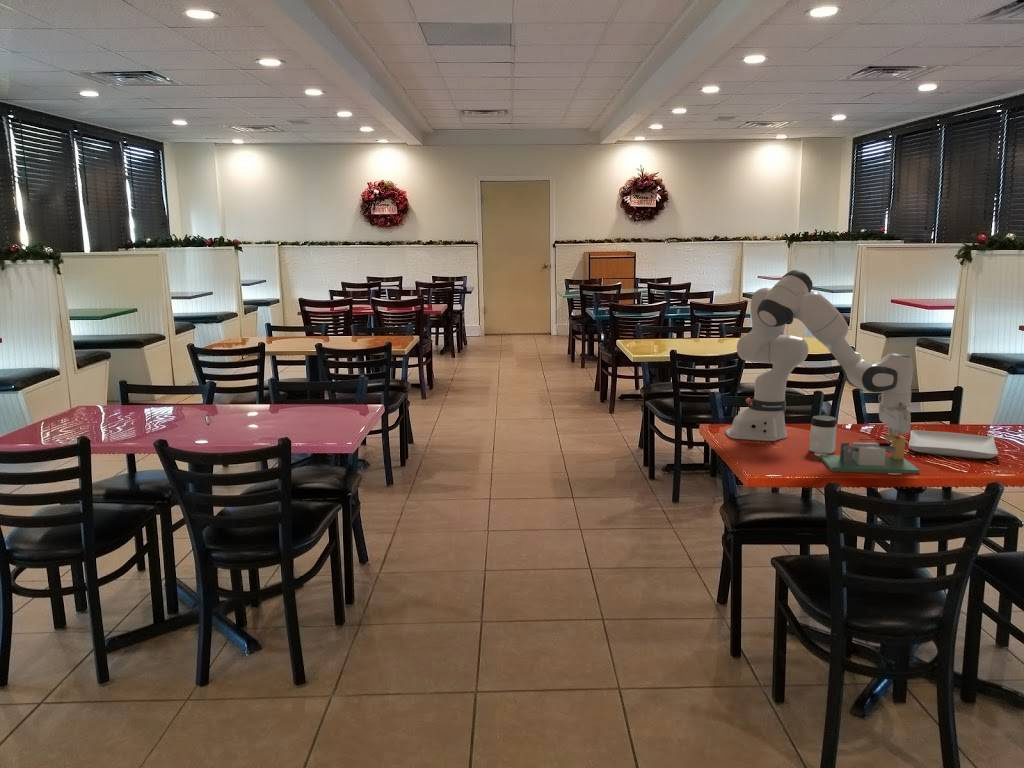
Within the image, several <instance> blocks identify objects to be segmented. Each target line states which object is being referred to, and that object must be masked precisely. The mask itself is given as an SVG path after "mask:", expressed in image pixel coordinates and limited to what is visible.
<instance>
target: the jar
mask: <svg viewBox="0 0 1024 768" xmlns="http://www.w3.org/2000/svg"><path fill="white" fill-rule="evenodd" d="M837 423H838V420H837V418H836V417H834V416H831V415H829V416H828V415H813V416H812V418H811V425H810V432H809V435H810V436H809V451H810V452H813V453H815V454H822V453H825V454H824V455H833V454H834V452H835V451H836V445H837V428H838V425H837Z"/></svg>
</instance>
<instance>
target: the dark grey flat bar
mask: <svg viewBox="0 0 1024 768" xmlns="http://www.w3.org/2000/svg"><path fill="white" fill-rule="evenodd" d="M852 446H853V445H852ZM859 447H863V448H885V449H886V453H887V452H888V453H889V452H890V453H891V452H896V449H895V448H894V447H891V446H887V445H886V446H884V445H883V446H881V445H879V446H853V451H858V450H859ZM842 449H843V450H844V449H845V446H842Z"/></svg>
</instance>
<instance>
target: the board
mask: <svg viewBox="0 0 1024 768" xmlns="http://www.w3.org/2000/svg"><path fill="white" fill-rule="evenodd" d="M842 446H845V449H844V450H843V449H842ZM853 446H880V443H879V442H856V441H855V442H854V441H853V442H852V445H850V443H849V442H842V441H841V442H840V449H839V454H819V456H818V458H819V460H820V459H821V460H822V461H823V462H824V463H825V464H826V465H827V466H828V467H829V468H828V467H827V466H826V465H825V464H824V463H823V462H822V461H821V460H820V461H821V462H822V463H823V464H824V465H825V466H826V467H827V468H828V469H829V470H830V472H839V471H840V472H843V473H845V472H846V473H850V472H851V473H878V474H879V473H881V474H910V475H911V474H916V475H918V474H919V475H920V474H921V470H920V469H919V468H917V467H916V466H915V465H914V464H912V463H911V461H908V460H907V459H905V458H904V460H898V459H893V458H892V457H891V456H888V455H887V456H886V453H887V452H886V449H885V448H863V447H859V450H858V451H853Z"/></svg>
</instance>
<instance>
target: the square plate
mask: <svg viewBox="0 0 1024 768" xmlns="http://www.w3.org/2000/svg"><path fill="white" fill-rule="evenodd" d="M909 434H910V438H909V441H908V447H909V448H910V450H912V451H914V452H917V453H923V454H928V455H929V454H930V455H938V456H949V457H957V458H958V457H959V458H968V459H979V460H980V459H992V458H995V457H997V455H999V451H998V449H997V446H996V441H995V438H994V436H988V435H987V436H985V435H979V434H969V433H968V434H967V433H959V432H949V431H937V430H936V431H933V430H932V431H931V430H919V429H918V430H917V429H912V430H911V429H910V432H909Z"/></svg>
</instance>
